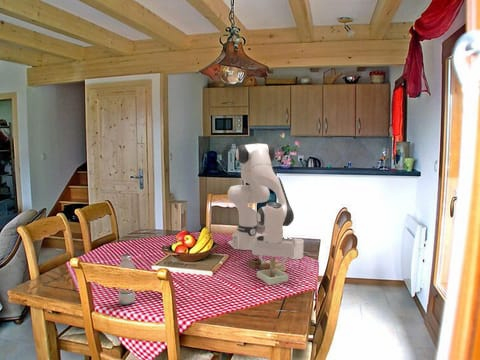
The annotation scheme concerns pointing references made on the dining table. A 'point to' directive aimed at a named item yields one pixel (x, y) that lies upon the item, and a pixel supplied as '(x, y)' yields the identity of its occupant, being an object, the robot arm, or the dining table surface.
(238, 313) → the dining table surface
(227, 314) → the dining table surface
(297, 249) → the cup
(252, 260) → the socket block
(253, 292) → the dining table surface
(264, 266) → the small brown block
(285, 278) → the tray
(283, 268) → the board
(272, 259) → the dowel
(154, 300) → the dining table surface
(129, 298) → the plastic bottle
